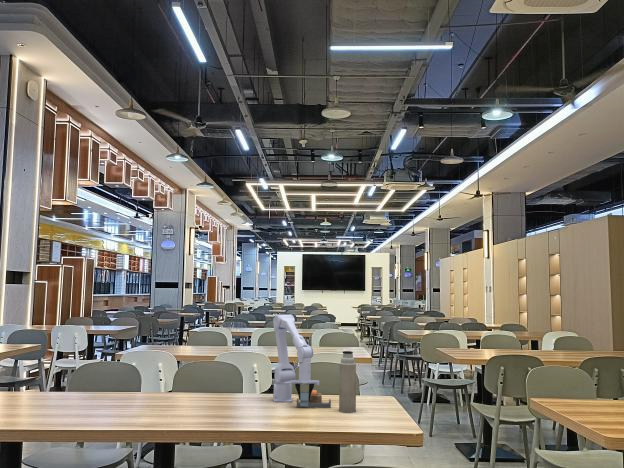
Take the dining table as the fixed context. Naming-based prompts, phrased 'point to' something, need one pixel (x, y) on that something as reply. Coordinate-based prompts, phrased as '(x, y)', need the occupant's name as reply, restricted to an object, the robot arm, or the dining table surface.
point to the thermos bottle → (347, 383)
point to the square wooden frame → (316, 398)
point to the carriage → (304, 398)
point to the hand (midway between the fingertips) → (304, 399)
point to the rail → (316, 404)
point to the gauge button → (314, 392)
